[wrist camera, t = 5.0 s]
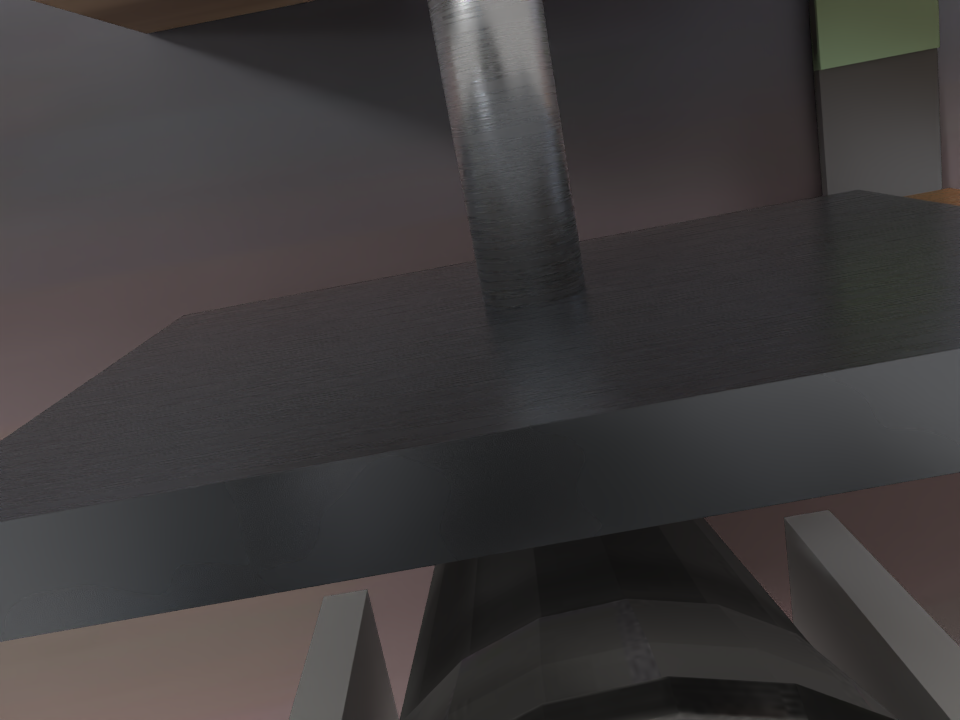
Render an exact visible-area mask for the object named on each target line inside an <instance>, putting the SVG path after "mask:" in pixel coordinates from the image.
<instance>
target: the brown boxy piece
mask: <svg viewBox="0 0 960 720" xmlns="http://www.w3.org/2000/svg"><path fill="white" fill-rule="evenodd" d="M32 1H36V2H39V3H43V4H46V5H50V6H53V7H56V8H60V9H63V10H67V11H70V12H74V13H77V14H81V15H84V16H87V17H91V18H94V19H98V20H101V21H105V22H108V23H112V24H115V25H118V26H122V27H125V28H129V29H132V30H136V31H139V32H143V33H146V34H148V33H153V32H158V31H163V30H168V29H173V28H178V27H183V26H188V25H193V24H198V23H203V22H208V21H214V20H219V19H224V18H229V17H234V16H239V15H244V14H249V13H254V12H259V11H264V10H269V9H274V8H280V7H285V6H290V5H295V4H300V3H305V2H310V1H315V0H32ZM809 14H810V28H811V42H812V56H813V70H814V83H815V97H816V111H817V125H818V139H819V153H820V167H821V180H822V194H823V196H825V195H830V194H836V193H841V192H846V191H852V190H857V189H858V190H864V191H870V192H877V193H883V194H889V195H895V196H901V197H904V196H910V195H915V194H921V193H926V192H931V191H937V190H942V170H941V140H940V111H939V81H938V52H937V48H938V47H940V36H939V6H938V0H809Z"/></svg>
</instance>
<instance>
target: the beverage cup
mask: <svg viewBox="0 0 960 720" xmlns="http://www.w3.org/2000/svg"><path fill="white" fill-rule="evenodd" d="M400 720H899V719H897V718H896V717H895V716H894V715H893V714H892V713H891V712H889V711H888V710H887V709H886V708H885V707H884V706H883V705H881V704H880V703H879V702H878V701H877V700H876V699H875V698H873V697H872V696H871V695H870V694H869V693H868V692H867V691H865V690H864V689H863V688H862V687H861V686H860V685H859V684H858V683H856V682H855V681H854V680H853V679H851V678H850V677H849V676H848V675H847V674H845V673H844V672H843V671H842V670H840V669H839V668H838V667H837V666H836V665H834V664H833V663H832V662H831V661H829V660H828V659H827V658H826V657H824V656H823V655H822V654H821V653H820V652H818V651H817V650H816V649H815V648H814V647H813V646H812V645H811V644H810V643H809V642H808V640H807V639H806V638H805V637H804V636H803V635H802V633H801V632H800V631H799V630H798V629H797V627H796V626H795V625H794V624H793V623H792V622H791V620H790V619H789V618H788V617H787V616H786V615H785V613H784V612H783V611H782V610H781V609H780V607H779V606H778V605H777V604H776V603H775V602H774V600H773V599H772V598H771V597H770V596H769V595H768V593H767V592H766V591H765V590H764V589H763V587H762V586H761V585H760V584H759V583H758V582H757V580H756V579H755V578H754V577H753V576H752V575H751V573H750V572H749V571H748V570H747V569H746V567H745V566H744V565H743V564H742V563H741V562H740V560H739V559H738V558H737V557H736V556H735V555H734V553H733V552H732V551H731V550H730V549H729V547H728V546H727V545H726V544H725V543H724V542H723V540H722V539H721V538H720V537H719V536H718V535H717V533H716V532H715V531H714V530H713V529H712V528H711V526H710V525H709V524H708V523H707V522H706V520H705V519H704V518H698V519H692V520H687V521H681V522H675V523H670V524H664V525H658V526H653V527H647V528H641V529H636V530H630V531H624V532H619V533H613V534H607V535H602V536H596V537H590V538H585V539H579V540H573V541H568V542H562V543H556V544H551V545H545V546H539V547H534V548H528V549H522V550H517V551H511V552H505V553H500V554H494V555H488V556H483V557H477V558H471V559H466V560H460V561H454V562H449V563H443V564H437V565H435V568H434V572H433V577H432V581H431V586H430V590H429V594H428V599H427V603H426V607H425V612H424V616H423V620H422V625H421V629H420V633H419V638H418V642H417V646H416V651H415V655H414V660H413V664H412V668H411V673H410V677H409V681H408V686H407V690H406V694H405V699H404V703H403V707H402V712H401V716H400Z"/></svg>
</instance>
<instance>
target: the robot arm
mask: <svg viewBox="0 0 960 720" xmlns="http://www.w3.org/2000/svg"><path fill="white" fill-rule="evenodd" d="M784 523H785V535H786V546H787V558H788V569H789V581H790V592H791V604H792V615H793V624H794V625H795V626H796V627H797V629H798V630H799V631H800V632H801V633H802V635H803V636H804V637H805V638H806V639H807V640H808V642H809V643H810V644H811V645H812V646H813V647H814V648H815V649H816V650H817V651H818V652H820V653H821V654H822V655H823V656H824V657H826V658H827V659H828V660H829V661H831V662H832V663H833V664H834V665H836V666H837V667H838V668H839V669H840V670H842V671H843V672H844V673H845V674H847V675H848V676H849V677H850V678H851V679H853V680H854V681H855V682H856V683H858V684H859V685H860V686H861V687H862V688H863V689H864V690H865V691H867V692H868V693H869V694H870V695H871V696H872V697H873V698H875V699H876V700H877V701H878V702H879V703H880V704H881V705H883V706H884V707H885V708H886V709H887V710H888V711H889V712H891V713H892V714H893V715H894V716H895V717H896V718H897V719H899V720H960V646H959V645H958V644H957V643H956V642H955V641H954V640H953V639H952V638H951V637H950V636H949V635H948V634H947V633H946V632H945V631H944V630H943V629H942V628H941V627H940V626H939V625H938V624H937V622H936V621H935V620H934V619H933V618H932V617H931V616H930V615H929V614H928V613H927V612H926V611H925V610H924V609H923V608H922V607H921V606H920V605H919V604H918V603H917V602H916V601H915V599H914V598H913V597H912V596H911V595H910V594H909V593H908V592H907V591H906V590H905V589H904V588H903V587H902V586H901V585H900V584H899V583H898V582H897V581H896V580H895V579H894V578H893V577H892V575H891V574H890V573H889V572H888V571H887V570H886V569H885V568H884V567H883V566H882V565H881V564H880V563H879V562H878V561H877V560H876V559H875V558H874V557H873V556H872V555H871V554H870V552H869V551H868V550H867V549H866V548H865V547H864V546H863V545H862V544H861V543H860V542H859V541H858V540H857V539H856V538H855V537H854V536H853V535H852V534H851V533H850V532H849V531H848V530H847V528H846V527H845V526H844V525H843V524H842V523H841V522H840V521H839V520H838V519H837V518H836V517H835V516H834V515H833V514H832V513H831V512H830V511H829V510H824V511H818V512H813V513H807V514H801V515H795V516H789V517H784ZM289 720H399V718H398V714H397V710H396V705H395V701H394V697H393V693H392V689H391V685H390V681H389V677H388V672H387V668H386V664H385V660H384V656H383V652H382V648H381V644H380V640H379V635H378V631H377V627H376V623H375V619H374V615H373V611H372V607H371V602H370V598H369V594H368V590H367V589H366V590H360V591H355V592H349V593H343V594H337V595H331V596H326V597H324V598H323V602H322V605H321V609H320V612H319V616H318V619H317V623H316V626H315V630H314V633H313V637H312V640H311V644H310V647H309V651H308V654H307V658H306V661H305V665H304V668H303V672H302V675H301V679H300V682H299V686H298V689H297V693H296V696H295V700H294V703H293V707H292V710H291V714H290V717H289Z"/></svg>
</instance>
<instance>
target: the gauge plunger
mask: <svg viewBox="0 0 960 720" xmlns="http://www.w3.org/2000/svg"><path fill="white" fill-rule="evenodd" d="M427 3H428V8H429V13H430V19H431V24H432V29H433V35H434V40H435V45H436V51H437V56H438V61H439V67H440V72H441V77H442V83H443V88H444V93H445V99H446V104H447V109H448V115H449V120H450V126H451V131H452V136H453V142H454V147H455V152H456V158H457V163H458V168H459V174H460V179H461V184H462V190H463V195H464V200H465V206H466V211H467V216H468V222H469V227H470V233H471V238H472V243H473V249H474V254H475V259H476V261H472V262H467V263H461V264H456V265H451V266H445V267H440V268H435V269H429V270H424V271H419V272H413V273H408V274H403V275H397V276H392V277H386V278H381V279H376V280H370V281H365V282H360V283H354V284H349V285H344V286H338V287H333V288H328V289H322V290H317V291H312V292H306V293H301V294H296V295H290V296H285V297H280V298H274V299H269V300H263V301H258V302H253V303H247V304H242V305H237V306H231V307H226V308H221V309H215V310H210V311H205V312H199V313H194V314H189V315H184V316H182V317H181V318H179V319H178V320H176V321H175V322H173V323H172V324H171V325H169V326H168V327H166V328H165V329H163V330H162V331H160V332H159V333H157V334H156V335H154V336H153V337H152V338H150V339H149V340H147V341H146V342H144V343H143V344H141V345H140V346H138V347H137V348H136V349H134V350H133V351H131V352H130V353H128V354H127V355H125V356H124V357H122V358H121V359H119V360H118V361H117V362H115V363H114V364H112V365H111V366H109V367H108V368H106V369H105V370H103V371H102V372H101V373H99V374H98V375H96V376H95V377H93V378H92V379H90V380H89V381H87V382H86V383H84V384H83V385H82V386H80V387H79V388H77V389H76V390H74V391H73V392H71V393H70V394H68V395H67V396H66V397H64V398H63V399H61V400H60V401H58V402H57V403H55V404H54V405H52V406H51V407H49V408H48V409H47V410H45V411H44V412H42V413H41V414H39V415H38V416H36V417H35V418H33V419H32V420H31V421H29V422H28V423H26V424H25V425H23V426H22V427H20V428H19V429H17V430H16V431H14V432H13V433H12V434H10V435H9V436H7V437H6V438H4V439H3V440H1V441H0V642H2V641H7V640H13V639H19V638H24V637H30V636H36V635H41V634H47V633H53V632H58V631H64V630H70V629H75V628H81V627H87V626H92V625H98V624H104V623H109V622H115V621H121V620H126V619H132V618H137V617H143V616H149V615H154V614H160V613H166V612H171V611H177V610H183V609H188V608H194V607H200V606H205V605H211V604H217V603H222V602H228V601H234V600H239V599H245V598H251V597H256V596H262V595H268V594H273V593H279V592H285V591H290V590H296V589H302V588H307V587H313V586H319V585H324V584H330V583H336V582H341V581H347V580H353V579H358V578H364V577H370V576H375V575H381V574H387V573H392V572H398V571H404V570H409V569H415V568H420V567H426V566H432V565H437V564H443V563H449V562H454V561H460V560H466V559H471V558H477V557H483V556H488V555H494V554H500V553H505V552H511V551H517V550H522V549H528V548H534V547H539V546H545V545H551V544H556V543H562V542H568V541H573V540H579V539H585V538H590V537H596V536H602V535H607V534H613V533H619V532H624V531H630V530H636V529H641V528H647V527H653V526H658V525H664V524H670V523H675V522H681V521H687V520H692V519H698V518H704V517H709V516H715V515H720V514H726V513H732V512H737V511H743V510H749V509H754V508H760V507H766V506H771V505H777V504H783V503H788V502H794V501H800V500H805V499H811V498H817V497H822V496H828V495H834V494H839V493H845V492H851V491H856V490H862V489H868V488H873V487H879V486H885V485H890V484H896V483H902V482H907V481H913V480H919V479H924V478H930V477H936V476H941V475H947V474H953V473H958V472H960V189H953V188H947V189H942V190H937V191H931V192H926V193H921V194H915V195H910V196H904V197H901V196H895V195H889V194H883V193H877V192H870V191H864V190H858V189H857V190H852V191H846V192H841V193H836V194H830V195H825V196H820V197H814V198H809V199H804V200H798V201H793V202H788V203H782V204H777V205H772V206H766V207H761V208H756V209H750V210H745V211H740V212H734V213H729V214H723V215H718V216H713V217H707V218H702V219H697V220H691V221H686V222H681V223H675V224H670V225H665V226H659V227H654V228H649V229H643V230H638V231H633V232H627V233H622V234H616V235H611V236H606V237H600V238H595V239H590V240H584V241H579V238H578V232H577V225H576V219H575V212H574V206H573V199H572V192H571V186H570V179H569V173H568V166H567V160H566V153H565V146H564V140H563V133H562V127H561V120H560V114H559V107H558V101H557V94H556V87H555V81H554V74H553V68H552V61H551V55H550V48H549V41H548V35H547V28H546V22H545V15H544V9H543V2H542V0H427Z"/></svg>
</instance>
